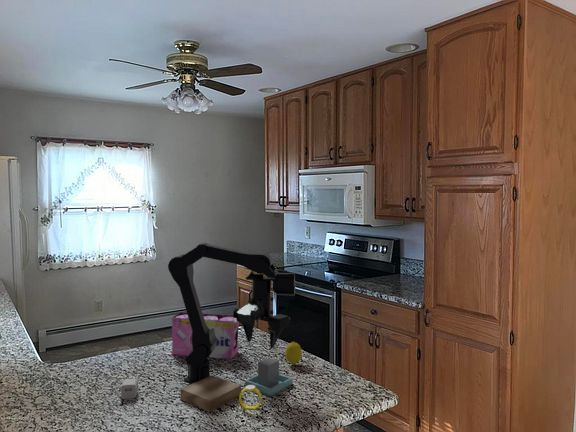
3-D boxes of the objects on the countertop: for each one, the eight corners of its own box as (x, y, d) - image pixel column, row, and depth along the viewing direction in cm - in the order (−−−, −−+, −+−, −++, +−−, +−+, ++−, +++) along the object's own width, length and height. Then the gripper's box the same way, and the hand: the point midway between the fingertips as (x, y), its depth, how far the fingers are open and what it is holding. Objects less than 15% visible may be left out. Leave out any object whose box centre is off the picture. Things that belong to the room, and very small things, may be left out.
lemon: (300, 368, 149) (300, 344, 149) (283, 367, 151) (283, 343, 150) (302, 362, 155) (303, 339, 154) (287, 361, 156) (287, 338, 156)
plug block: (258, 385, 135) (258, 362, 135) (268, 379, 139) (268, 357, 139) (268, 388, 133) (268, 365, 132) (278, 383, 137) (278, 360, 136)
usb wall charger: (121, 399, 127) (120, 385, 127) (125, 388, 134) (125, 375, 133) (135, 398, 127) (135, 384, 127) (139, 387, 134) (139, 374, 134)
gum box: (241, 352, 165) (241, 315, 164) (235, 360, 157) (235, 321, 156) (180, 347, 170) (180, 311, 169) (171, 354, 162) (171, 317, 161)
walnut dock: (180, 399, 127) (180, 388, 127) (211, 384, 136) (211, 375, 136) (210, 411, 120) (210, 400, 119) (241, 395, 129) (241, 385, 129)
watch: (239, 411, 121) (237, 389, 121) (241, 406, 124) (239, 385, 123) (261, 410, 120) (259, 388, 120) (262, 405, 123) (261, 384, 123)
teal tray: (244, 387, 135) (244, 380, 135) (266, 376, 143) (266, 370, 143) (271, 396, 129) (271, 389, 129) (292, 384, 137) (292, 378, 137)
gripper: (220, 293, 137) (220, 344, 138) (267, 304, 125) (266, 359, 126) (246, 288, 145) (245, 335, 146) (291, 297, 134) (290, 349, 135)
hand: (260, 344), depth 138 cm, fingers open, 9 cm apart
